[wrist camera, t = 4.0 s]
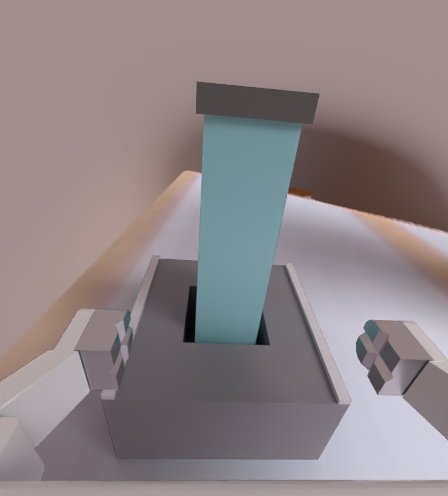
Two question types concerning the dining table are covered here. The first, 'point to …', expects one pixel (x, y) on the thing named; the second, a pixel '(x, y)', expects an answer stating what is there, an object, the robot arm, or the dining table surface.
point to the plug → (242, 201)
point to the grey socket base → (224, 377)
